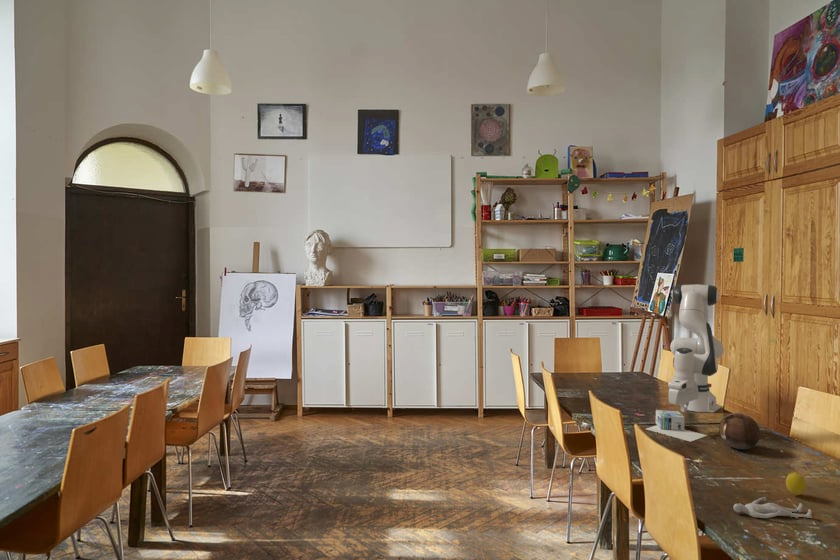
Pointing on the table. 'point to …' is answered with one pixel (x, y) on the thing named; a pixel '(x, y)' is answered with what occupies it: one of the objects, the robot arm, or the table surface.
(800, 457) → the table surface
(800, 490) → the lemon
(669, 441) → the table surface
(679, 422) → the light bulb box
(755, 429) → the wooden sphere
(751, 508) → the male figure
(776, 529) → the table surface
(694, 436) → the mat
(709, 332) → the robot arm
